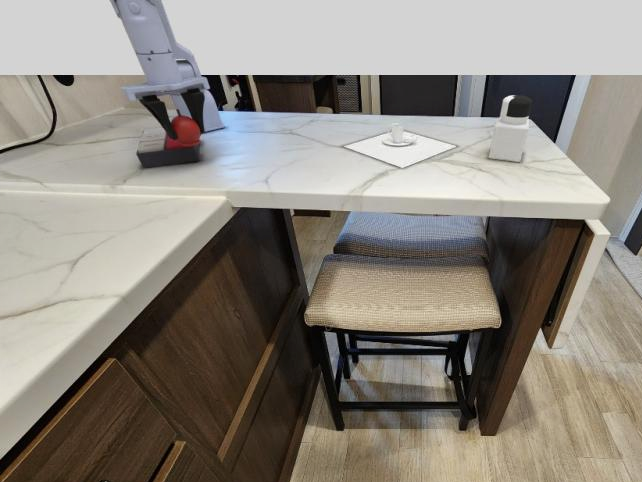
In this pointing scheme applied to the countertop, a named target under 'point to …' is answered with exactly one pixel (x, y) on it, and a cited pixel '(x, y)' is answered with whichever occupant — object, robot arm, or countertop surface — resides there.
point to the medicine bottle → (511, 129)
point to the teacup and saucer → (400, 147)
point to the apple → (186, 130)
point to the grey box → (164, 149)
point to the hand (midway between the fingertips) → (187, 135)
